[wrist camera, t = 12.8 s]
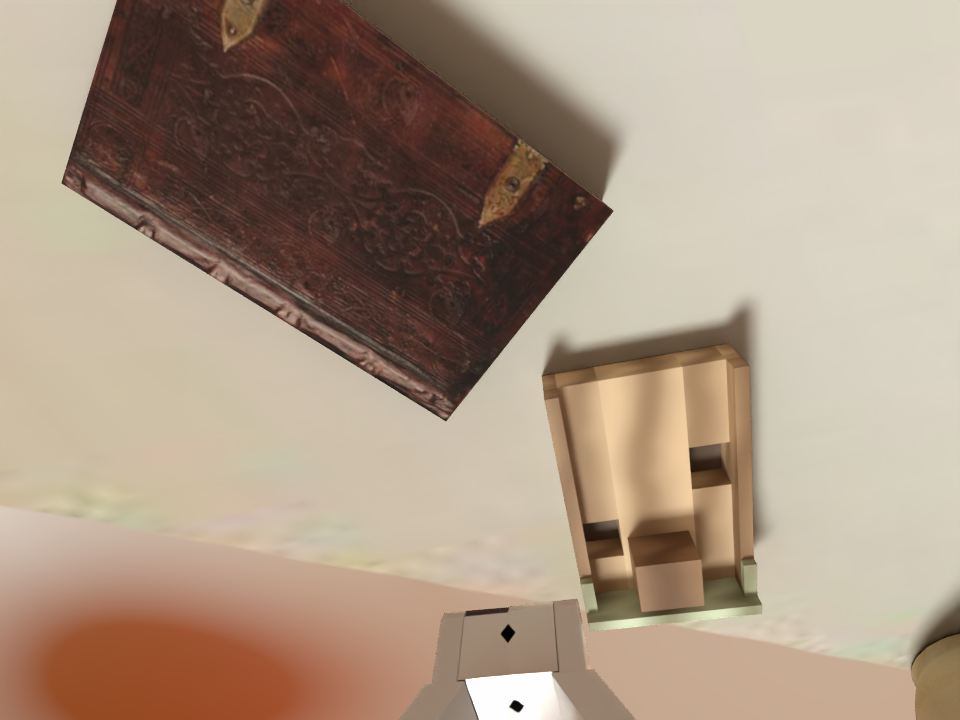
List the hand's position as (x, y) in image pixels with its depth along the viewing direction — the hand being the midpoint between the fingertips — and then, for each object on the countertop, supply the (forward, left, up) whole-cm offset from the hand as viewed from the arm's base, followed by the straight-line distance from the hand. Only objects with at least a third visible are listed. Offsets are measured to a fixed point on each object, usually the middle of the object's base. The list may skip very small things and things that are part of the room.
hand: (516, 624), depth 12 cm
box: (-8, +19, -29) cm, 36 cm away
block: (-8, +26, -27) cm, 38 cm away
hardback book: (+10, -8, -30) cm, 32 cm away
